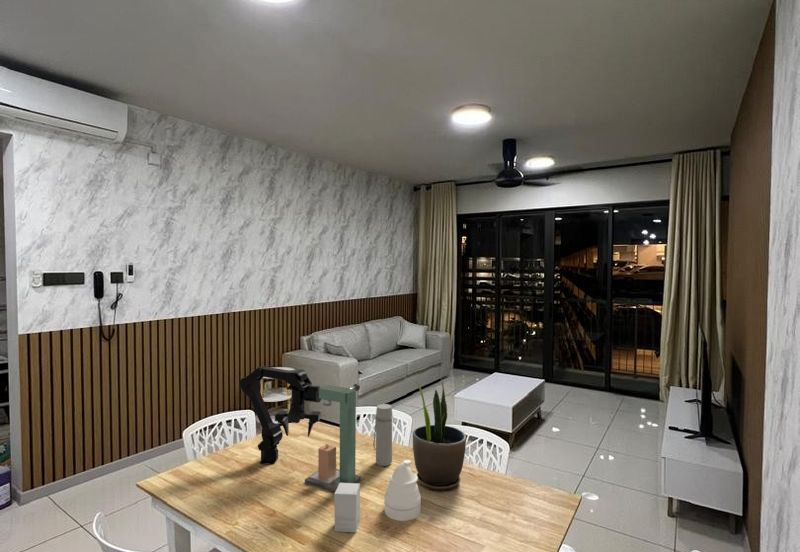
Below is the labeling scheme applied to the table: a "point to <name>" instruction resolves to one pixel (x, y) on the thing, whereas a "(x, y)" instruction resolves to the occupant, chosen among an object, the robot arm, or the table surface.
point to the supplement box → (347, 507)
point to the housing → (327, 461)
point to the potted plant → (438, 449)
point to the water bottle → (383, 434)
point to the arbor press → (341, 437)
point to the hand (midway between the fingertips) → (298, 435)
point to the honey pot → (402, 494)
